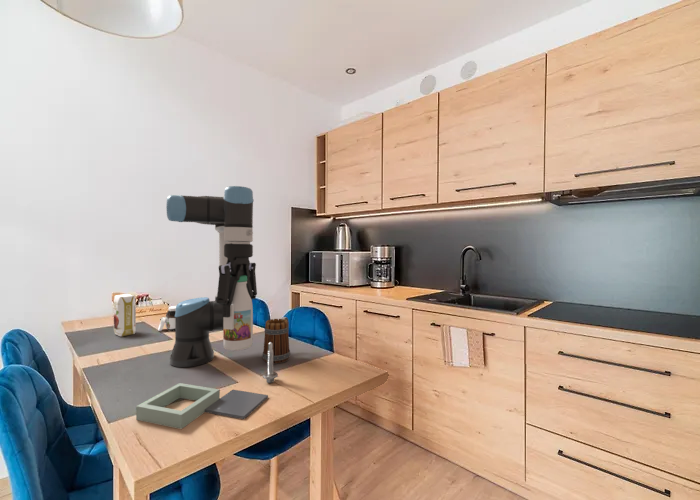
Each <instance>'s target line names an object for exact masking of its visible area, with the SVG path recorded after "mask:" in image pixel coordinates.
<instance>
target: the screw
mask: <svg viewBox="0 0 700 500" xmlns="http://www.w3.org/2000/svg"><path fill="white" fill-rule="evenodd" d="M272 348H273V345H272V343H271V342H270V343H269V345H268V360H267V361H268V363H267V372H264V373H263V374H262V378H263V379H265V381H266V383H267V384H271V383H272V384H273V383H274V382H275V379H276V378H277V377H279V376H278V375H279V374H278V372H276V371H274V364H273V349H272Z"/></svg>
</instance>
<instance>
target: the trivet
mask: <svg viewBox="0 0 700 500" xmlns="http://www.w3.org/2000/svg"><path fill="white" fill-rule="evenodd" d="M268 398H269V395H268V394H263V393H258V392H251V391H250V392H249V391H243V390H238V389H232V390H230V391H229V392H227V393H225V394H224V395H223V396H220V399H219V400H217V401H216V402H214V403H213V404H211V405H210V406H209V407H207V408H206V409H205V412H204V413H208V414H210V415H211V414H213V415H216V416H217V415H218V416H223V417H228V418H234V419H241V420H246V418H247V417H249V415H251V414H252V413H253V412H254V411H255V410H256V409H257V408H258V407H260V406H261V405H262V404H263V403H264V402H265V401H267V399H268Z"/></svg>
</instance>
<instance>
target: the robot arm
mask: <svg viewBox="0 0 700 500" xmlns="http://www.w3.org/2000/svg"><path fill="white" fill-rule="evenodd" d="M165 209H166V217H167V220H168V221H170V222H177V223H196V224H201V225H206V226H208V225H209V226H210V225H211V226H212V225H213V226H214V229H215V231H217V233H218V235H219V238H218V239H219V240H218V243H219V244H218V245H219V246H218V247H219V250H218V252H219V253H218V255H219V256H218V259H219V263H218V264H219V265H218V273H219V275H218V284H217V294H216V295H215V296H214V299H215V300H210V298H209V297H196V298H195V297H194V298H189V299H185V300H182V301H181V302H179V303H177V304H176V305H175V306H176V312H175V331H174V332H175V334H174V335H175V336H174V338H175V339H174V344H173V348H172V351H171V353H170V356H169V365H171V366H173V367H175V368H176V367H177V368H189V367H197V366H200V365H204V364H206V363H210V362H211V361H212V360H213V359H214V358H215V357H214V356H215V352H214V349H213V346H212V343H211V340H210V332H217V331H218V332H219V331H223V329H231V330H232V329H234V305H233V304H232V301H233V297H234V293H235V289H236V284H237V281H238V280H239V279H240V276H243V275H246V276H247V284H246V287H247V291H248V293H249V295H250V298H251V300H252V301H253V299H254V300H255V299H256V297H257V295H258V291H257V289H258V288H257V278H256V275H257V274H256V268H257V267H256V266H257V263H255V262H250V258H252V257H253V255H254V254H253V253H254V246H253V244H252V242H254V241H253V240H254V238H253V236H254V235H253V234H254V231H253V228H254V227H253V223H254V222H253V218H254V217H253V216H254V192H253V190H252V189H251V188H250V187H247V186H239V185H230V186H227V187H225V188H224V196H210V195H200V196H195V195H194V196H192V195H182V194H177V195H176V194H171V195H168V196H167V198H166V208H165ZM233 276H234V277H233Z"/></svg>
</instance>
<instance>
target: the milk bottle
mask: <svg viewBox="0 0 700 500" xmlns="http://www.w3.org/2000/svg"><path fill="white" fill-rule="evenodd" d="M233 277H234V276H233ZM246 284H247V276H246V275H243V276H240V279H239V280H238V281H237V284H236V289H235V293H234V297H233V301H232V304H233V305H234V329H232V330H231V329H223V330H222V333H223V334H222V335H223V341H222V342H223V346H222V347H223V348H224V350H226V351H233V352H236V351H238V352H239V351H243V350H247V349H250V348H251V347H252V346H253V341H254V337H253V336H254V334H253V333H254V332H253V331H254V313H253V312H254V311H253V310H254V309H253V308H254V307H253V299H252V300H251V298H250V295H249V293H248V291H247V287H246Z"/></svg>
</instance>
